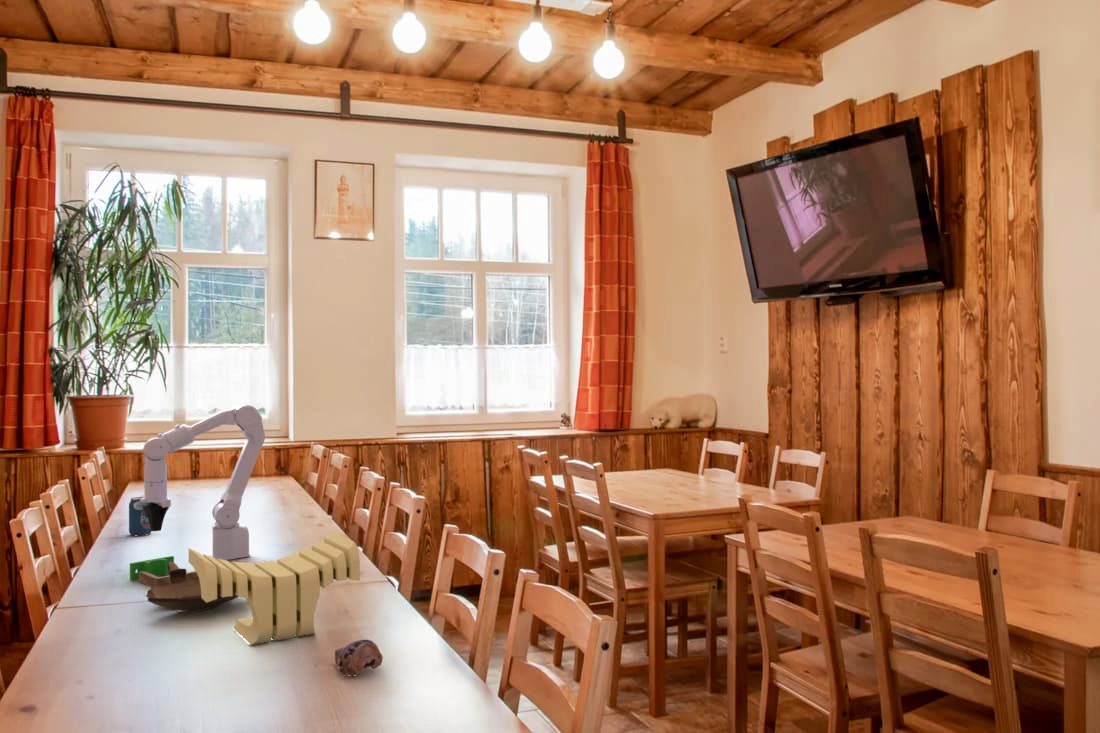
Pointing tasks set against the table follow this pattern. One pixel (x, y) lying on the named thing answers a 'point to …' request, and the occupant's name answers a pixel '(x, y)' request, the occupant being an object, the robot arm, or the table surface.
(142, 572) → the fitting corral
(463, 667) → the table surface
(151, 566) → the pipe clamp
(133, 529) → the soda can
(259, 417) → the robot arm
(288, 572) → the slatted curved stool
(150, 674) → the table surface
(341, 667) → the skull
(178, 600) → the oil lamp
